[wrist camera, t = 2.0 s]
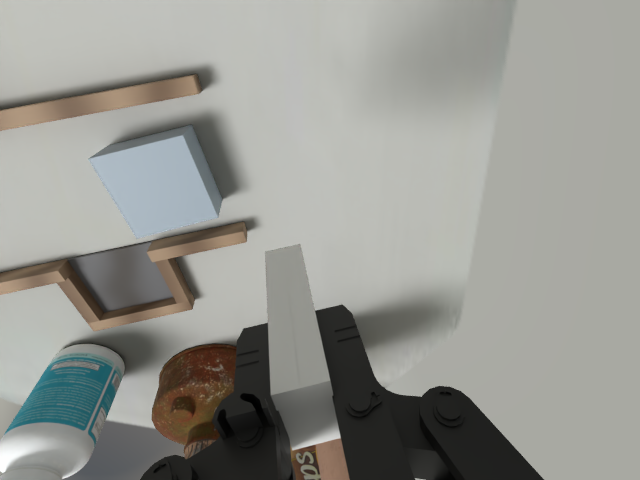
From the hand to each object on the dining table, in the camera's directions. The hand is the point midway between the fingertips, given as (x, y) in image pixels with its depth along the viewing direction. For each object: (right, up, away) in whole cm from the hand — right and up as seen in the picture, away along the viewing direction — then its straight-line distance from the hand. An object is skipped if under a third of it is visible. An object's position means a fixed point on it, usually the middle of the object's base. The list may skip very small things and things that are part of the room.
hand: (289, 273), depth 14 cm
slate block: (-12, +7, +15) cm, 20 cm away
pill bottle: (-26, -13, +24) cm, 38 cm away
